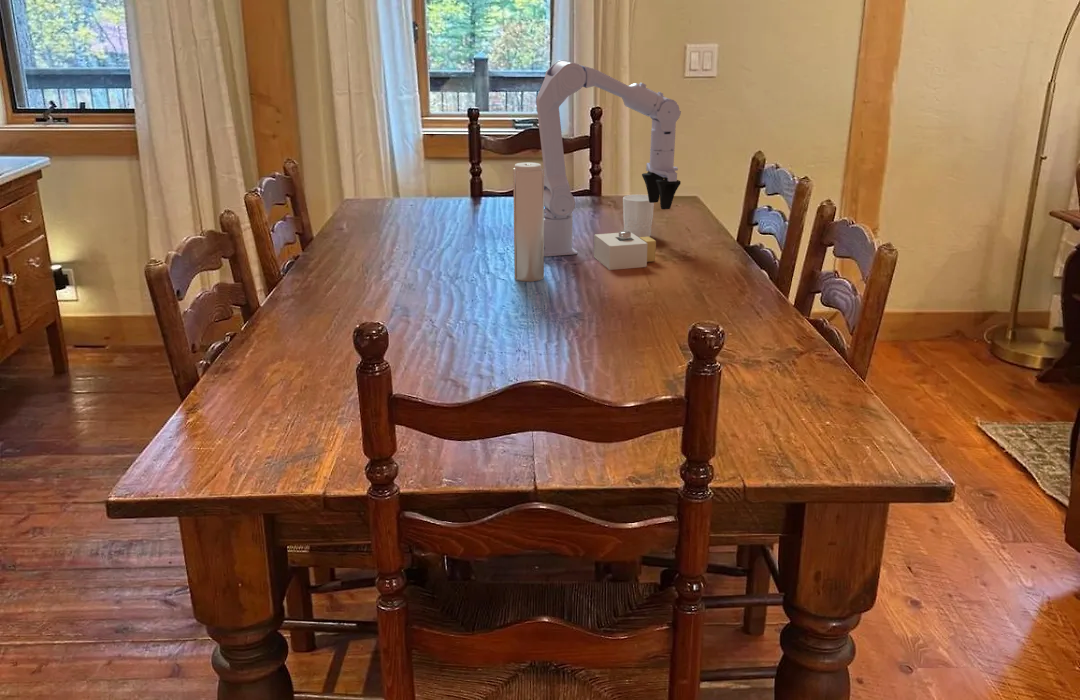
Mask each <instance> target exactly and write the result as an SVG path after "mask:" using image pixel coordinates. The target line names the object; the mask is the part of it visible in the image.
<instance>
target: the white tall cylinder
mask: <svg viewBox="0 0 1080 700" xmlns="http://www.w3.org/2000/svg"><path fill="white" fill-rule="evenodd" d="M512 171H513V172H512V173H513V174H512V176H513V177H512V178H513V181H512V182H513V183H512V184H513V185H512V186H513V187H512V188H513V246H514V247H513V251H514V252H513V256H514V257H513V258H514V259H513V260H514V262H513V263H514V279H515V280H516V281H519V282H525V283H531V282H534V281H535V282H540V281H541V280H543V279H544V278H545V257H544V209H545V207H544V168H542V164H541V163H538V162H527V161H526V162H517V163H515V164H514V168H513V169H512Z"/></svg>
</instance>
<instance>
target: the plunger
mask: <svg viewBox="0 0 1080 700" xmlns="http://www.w3.org/2000/svg"><path fill="white" fill-rule="evenodd" d="M618 233H619V241H628V240H631V232H630V231H624V230H620V231H618Z"/></svg>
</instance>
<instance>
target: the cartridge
mask: <svg viewBox="0 0 1080 700" xmlns="http://www.w3.org/2000/svg"><path fill="white" fill-rule="evenodd" d="M639 238H640V239H642V240H643V241H645V242H646V243H648V244H647V263H648V262H650V263H651V262H655V261H656V253H657V251H656V249H657V240H655V239H654V238H652V237H651V236H650V237H649V236H648V237H639Z"/></svg>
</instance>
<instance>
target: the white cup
mask: <svg viewBox="0 0 1080 700" xmlns="http://www.w3.org/2000/svg"><path fill="white" fill-rule="evenodd" d="M654 204H655V203H650V202H649V198H648V194H628V195H624V196H623V197H622V209H623V210H622V212H623V213H622V215H623V216H622V217H623V219H622V220H623V231H630V232H631V233H633V234H634V235H636V236H637V237H648V236H649V237H651V235H652V225H653V217H654V207H655V205H654Z"/></svg>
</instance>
